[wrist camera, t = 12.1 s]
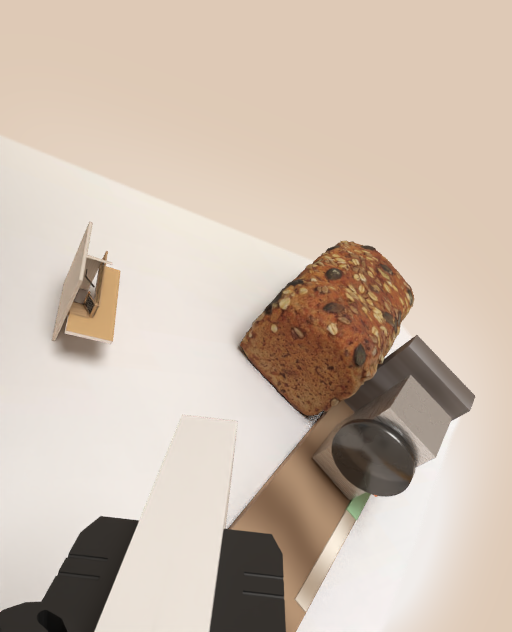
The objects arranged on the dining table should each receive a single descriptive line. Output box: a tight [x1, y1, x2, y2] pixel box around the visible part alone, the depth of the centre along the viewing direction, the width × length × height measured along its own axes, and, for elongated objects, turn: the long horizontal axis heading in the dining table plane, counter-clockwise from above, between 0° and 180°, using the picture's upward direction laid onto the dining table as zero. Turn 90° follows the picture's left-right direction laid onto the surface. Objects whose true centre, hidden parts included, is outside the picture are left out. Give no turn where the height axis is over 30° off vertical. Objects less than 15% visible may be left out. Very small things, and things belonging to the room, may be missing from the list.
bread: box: [240, 241, 414, 416], centre depth 46 cm, size 19×11×10 cm, turn 144°
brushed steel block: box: [312, 375, 452, 500], centre depth 36 cm, size 6×7×9 cm
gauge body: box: [228, 335, 475, 632], centre depth 35 cm, size 22×7×10 cm, turn 141°
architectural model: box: [52, 222, 120, 344], centre depth 33 cm, size 3×7×7 cm, turn 7°
